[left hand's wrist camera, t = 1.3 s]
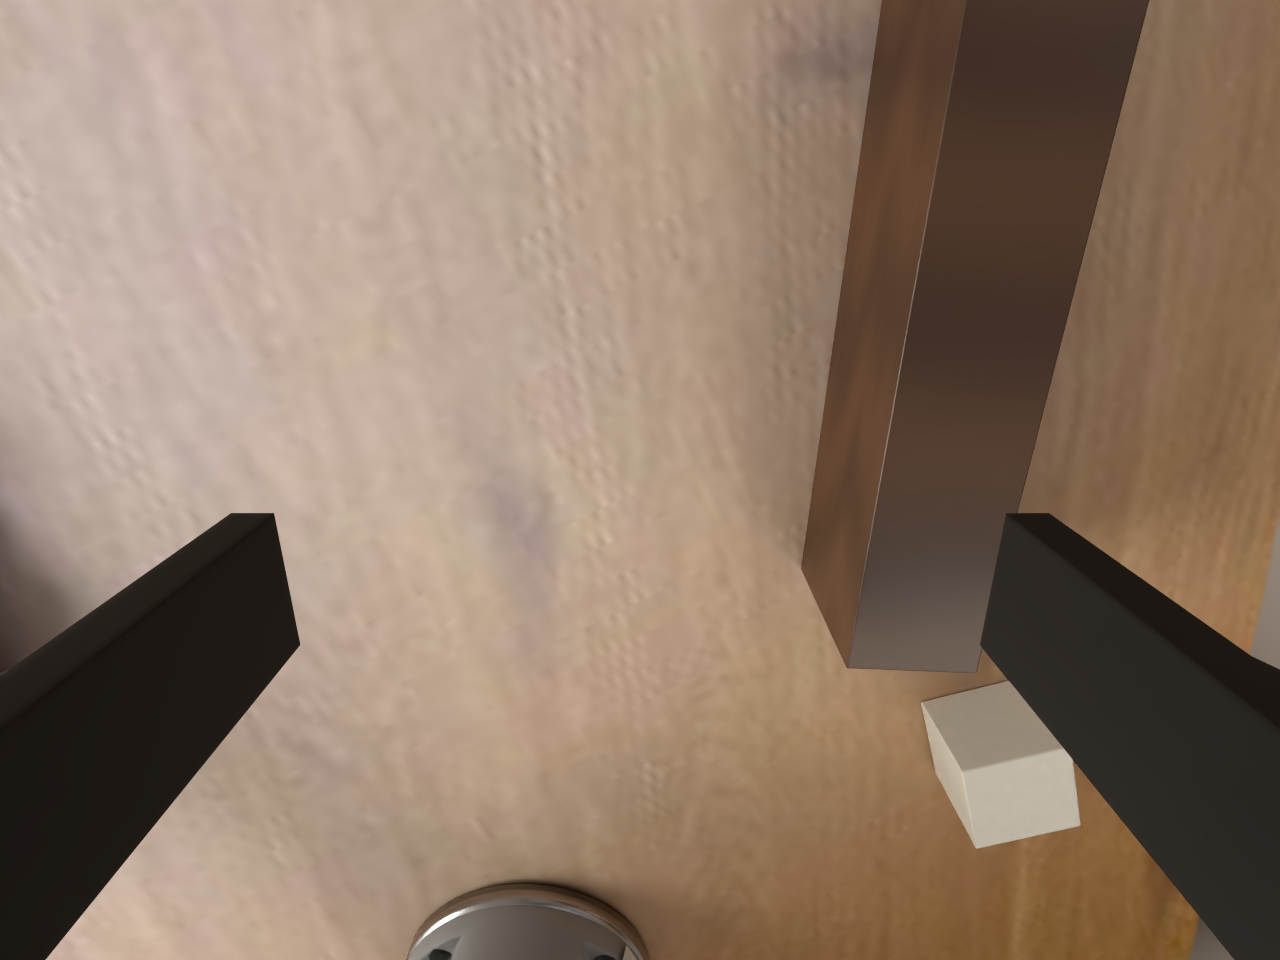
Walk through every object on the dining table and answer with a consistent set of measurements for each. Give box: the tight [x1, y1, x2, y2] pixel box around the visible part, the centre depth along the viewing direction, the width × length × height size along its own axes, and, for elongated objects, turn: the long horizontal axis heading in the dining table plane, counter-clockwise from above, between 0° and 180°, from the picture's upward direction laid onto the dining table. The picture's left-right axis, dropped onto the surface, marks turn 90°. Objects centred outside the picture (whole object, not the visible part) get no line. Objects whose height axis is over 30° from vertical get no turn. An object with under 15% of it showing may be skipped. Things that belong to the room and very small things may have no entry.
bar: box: [801, 0, 1149, 673], centre depth 25 cm, size 26×5×8 cm, turn 177°
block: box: [921, 681, 1081, 848], centre depth 35 cm, size 5×5×5 cm
